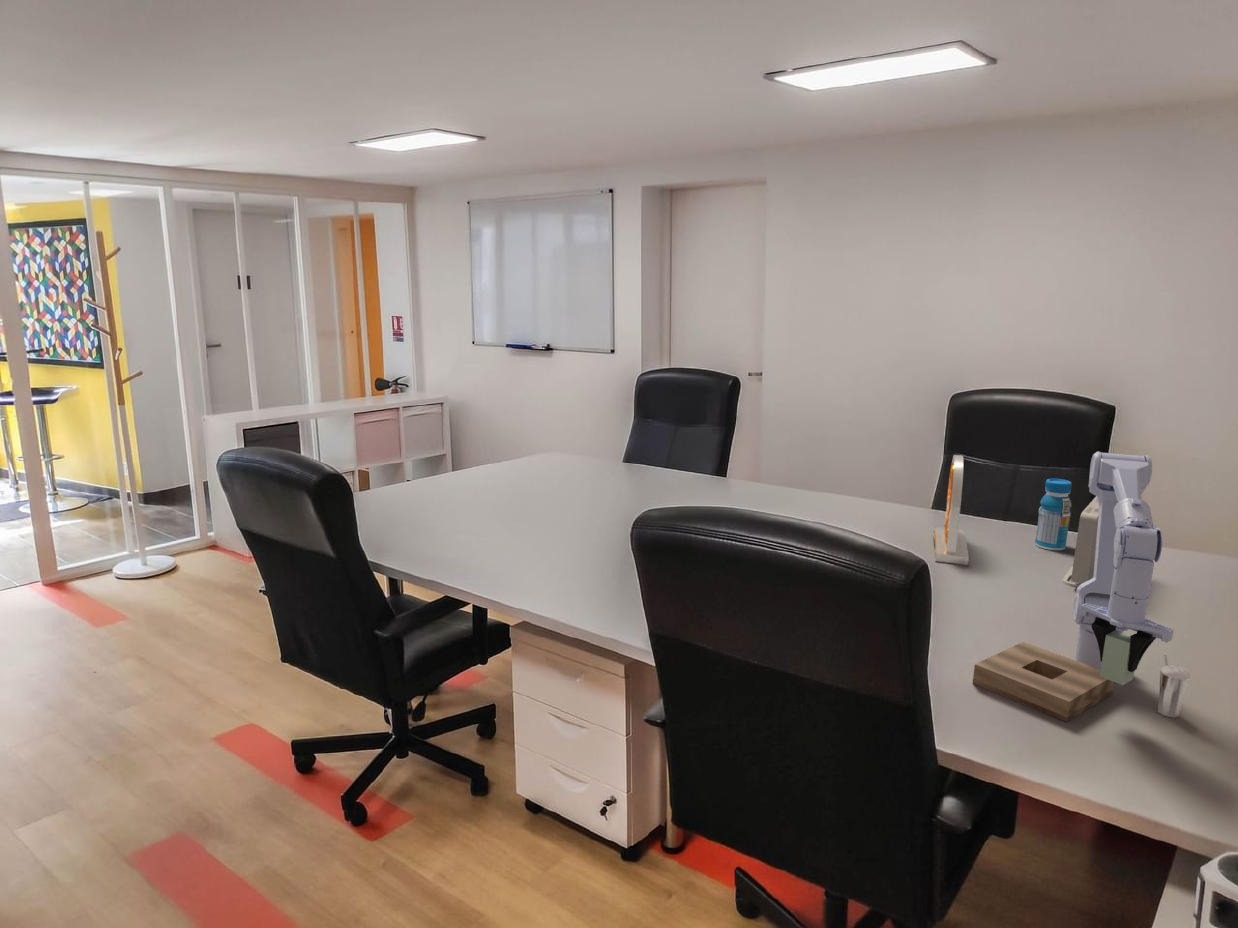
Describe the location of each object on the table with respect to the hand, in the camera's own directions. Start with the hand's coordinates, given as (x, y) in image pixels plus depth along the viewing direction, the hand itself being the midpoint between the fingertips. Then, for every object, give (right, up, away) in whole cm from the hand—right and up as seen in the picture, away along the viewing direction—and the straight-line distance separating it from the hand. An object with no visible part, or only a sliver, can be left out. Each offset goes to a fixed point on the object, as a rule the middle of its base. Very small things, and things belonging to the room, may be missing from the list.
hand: (1118, 665), depth 152 cm
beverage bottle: (+38, +11, +100) cm, 108 cm away
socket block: (-8, -7, +12) cm, 16 cm away
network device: (+35, +5, +74) cm, 82 cm away
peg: (0, -2, +1) cm, 2 cm away
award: (+7, +11, +96) cm, 97 cm away
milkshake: (+11, -10, +4) cm, 15 cm away
